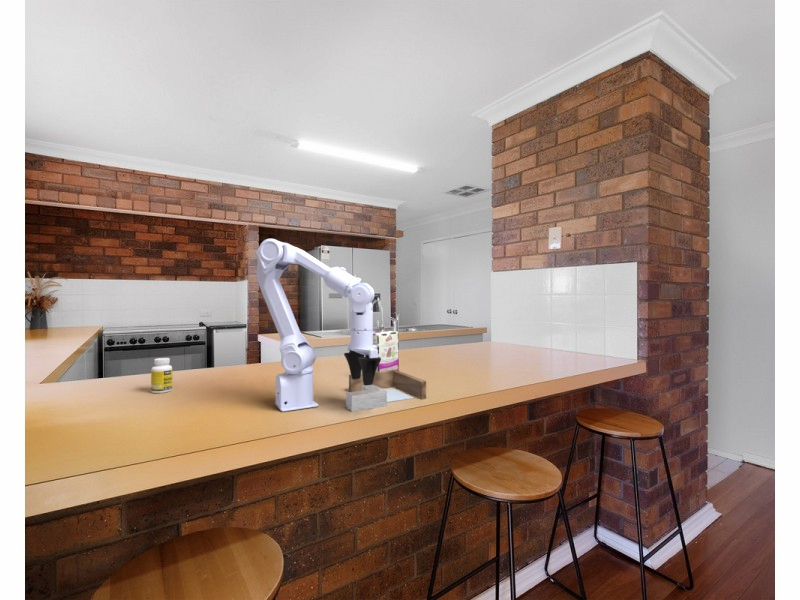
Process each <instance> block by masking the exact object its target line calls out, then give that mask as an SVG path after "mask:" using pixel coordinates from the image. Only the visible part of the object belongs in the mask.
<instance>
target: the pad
mask: <svg viewBox="0 0 800 600" xmlns="http://www.w3.org/2000/svg"><path fill="white" fill-rule="evenodd" d="M384 390H386V391H387V403H392V402H399V401H405V400H411V399H414V397H412V395H410V394H407V393H405V392H403V391H401V390H399V389H398V390H397V389H395V388H394V387H391V388H386V389H385V388H384Z"/></svg>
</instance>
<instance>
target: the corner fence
mask: <svg viewBox="0 0 800 600" xmlns="http://www.w3.org/2000/svg"><path fill="white" fill-rule="evenodd" d="M363 385H364V383H363V376H362V372H361V377H360V379H352V377H351V374H349V375H348V391H349V392H356V391H361V386H363ZM373 385H376V386H378V387H380V388H382V389H385V388H386V389H388V388H394V389H395V388H396V390H397V389H398V390H399V391H401V392H403V393H405V394H407V395H410V396H414V397H416V398H418V399H420V400H425V399H427V381H426V380H425V379H421V378H418V377H416V376H413V375H411V374H408V373H405V372H403V371H397V370H388V371H379V372H375V376H374V380H373Z"/></svg>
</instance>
